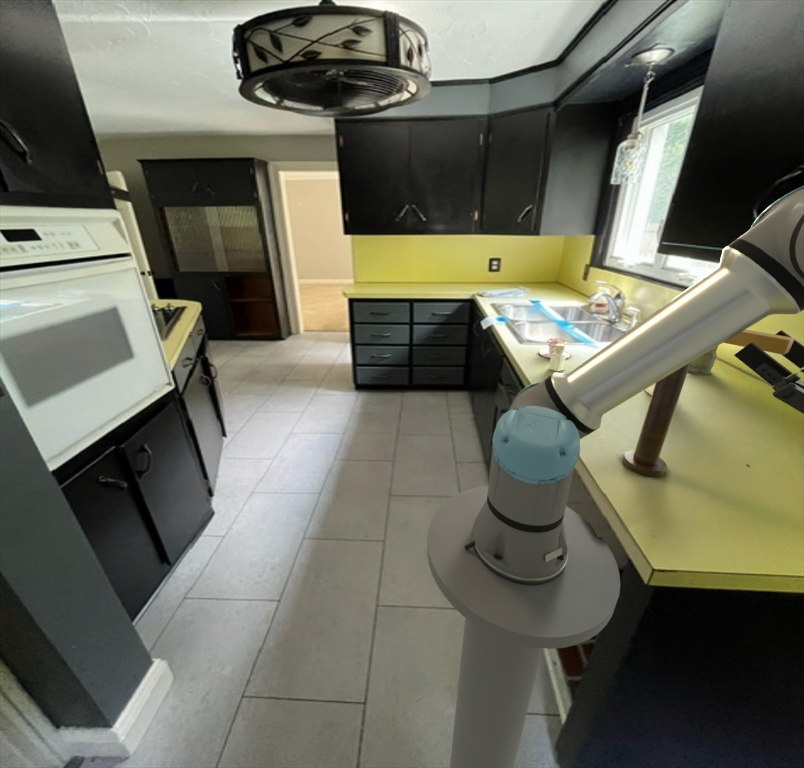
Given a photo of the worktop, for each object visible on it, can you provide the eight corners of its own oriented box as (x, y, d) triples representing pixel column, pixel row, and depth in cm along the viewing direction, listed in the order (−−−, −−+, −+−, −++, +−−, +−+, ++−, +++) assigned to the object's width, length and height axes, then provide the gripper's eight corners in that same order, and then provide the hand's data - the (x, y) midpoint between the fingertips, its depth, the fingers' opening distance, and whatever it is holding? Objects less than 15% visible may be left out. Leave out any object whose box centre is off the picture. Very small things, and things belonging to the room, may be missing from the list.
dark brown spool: (634, 480, 75) (677, 341, 63) (608, 452, 85) (642, 326, 73) (681, 480, 75) (734, 341, 63) (651, 452, 85) (692, 326, 73)
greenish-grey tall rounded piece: (702, 366, 137) (736, 270, 123) (716, 377, 127) (754, 274, 113) (675, 363, 140) (705, 269, 126) (686, 374, 130) (720, 273, 116)
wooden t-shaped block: (780, 356, 56) (789, 337, 55) (652, 330, 70) (657, 314, 69) (791, 351, 58) (799, 332, 57) (665, 326, 73) (669, 311, 72)
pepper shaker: (553, 366, 137) (558, 342, 133) (563, 369, 134) (568, 345, 130) (548, 369, 134) (552, 344, 131) (557, 372, 132) (562, 347, 128)
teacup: (576, 358, 146) (579, 343, 143) (550, 360, 143) (553, 345, 141) (557, 349, 156) (559, 335, 154) (533, 351, 154) (535, 337, 151)
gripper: (847, 493, 46) (705, 371, 56) (885, 438, 58) (763, 346, 68) (925, 466, 41) (752, 336, 51) (949, 411, 53) (806, 315, 63)
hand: (758, 341), depth 60 cm, fingers open, 13 cm apart
